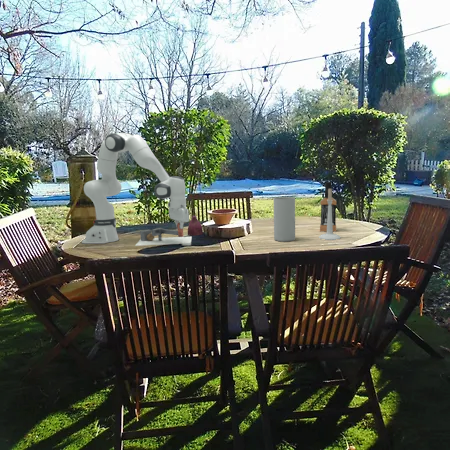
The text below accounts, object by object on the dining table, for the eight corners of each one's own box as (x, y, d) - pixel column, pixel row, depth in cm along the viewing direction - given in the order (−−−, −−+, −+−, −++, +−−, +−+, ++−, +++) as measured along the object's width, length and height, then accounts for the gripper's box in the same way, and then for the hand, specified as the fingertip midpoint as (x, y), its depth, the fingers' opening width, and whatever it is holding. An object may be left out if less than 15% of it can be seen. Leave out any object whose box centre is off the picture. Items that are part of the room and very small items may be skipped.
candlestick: (334, 235, 243) (334, 186, 239) (344, 239, 231) (345, 188, 226) (315, 237, 241) (315, 187, 236) (324, 240, 228) (324, 189, 224)
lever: (151, 235, 237) (150, 222, 236) (159, 233, 243) (158, 220, 242) (176, 238, 225) (176, 224, 224) (185, 236, 231) (184, 222, 230)
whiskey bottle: (336, 229, 264) (336, 181, 259) (336, 231, 255) (336, 182, 250) (320, 229, 267) (320, 181, 262) (319, 231, 257) (320, 182, 252)
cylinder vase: (275, 242, 229) (274, 199, 226) (273, 238, 242) (272, 197, 238) (296, 241, 229) (296, 198, 225) (293, 237, 242) (293, 196, 238)
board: (135, 247, 228) (134, 235, 227) (141, 240, 249) (140, 229, 247) (190, 245, 229) (190, 232, 228) (191, 238, 250) (191, 227, 249)
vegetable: (200, 240, 260) (201, 219, 253) (185, 238, 262) (185, 217, 255) (204, 233, 269) (205, 213, 263) (190, 231, 271) (190, 211, 265)
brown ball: (146, 241, 238) (146, 234, 238) (147, 240, 243) (147, 232, 242) (153, 241, 239) (153, 233, 238) (154, 239, 243) (154, 232, 242)
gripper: (191, 205, 220) (192, 229, 222) (176, 202, 237) (177, 225, 239) (180, 206, 217) (182, 231, 219) (166, 203, 234) (167, 226, 236)
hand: (179, 228), depth 229 cm, fingers open, 3 cm apart
